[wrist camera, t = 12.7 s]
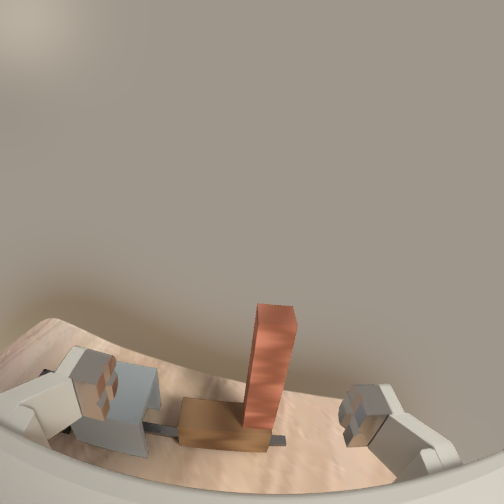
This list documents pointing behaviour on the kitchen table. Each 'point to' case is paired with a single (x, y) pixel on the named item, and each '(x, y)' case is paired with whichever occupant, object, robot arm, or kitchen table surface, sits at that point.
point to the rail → (173, 433)
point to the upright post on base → (246, 392)
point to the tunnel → (124, 412)
